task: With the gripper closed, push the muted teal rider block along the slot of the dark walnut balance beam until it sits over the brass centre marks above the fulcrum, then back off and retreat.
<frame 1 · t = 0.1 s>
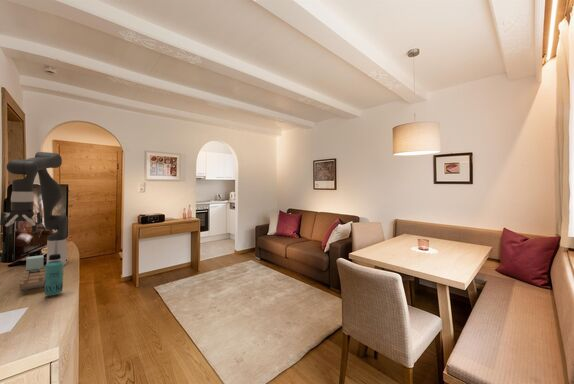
hand: (21, 233, 119), 29 cm above the tv stand, fingers open, 8 cm apart
beam: (34, 286, 126), on the tv stand
beverage bottle: (53, 296, 117), on the tv stand
rider: (35, 263, 131), point 10 cm above the tv stand, slide at -7.5 cm
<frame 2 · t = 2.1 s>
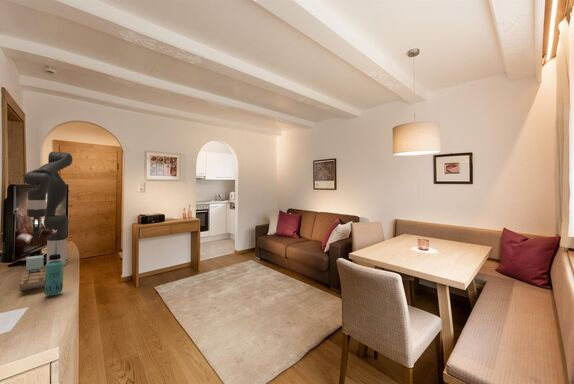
hand: (36, 238, 136), 23 cm above the tv stand, fingers closed
nothing on the tv stand moved.
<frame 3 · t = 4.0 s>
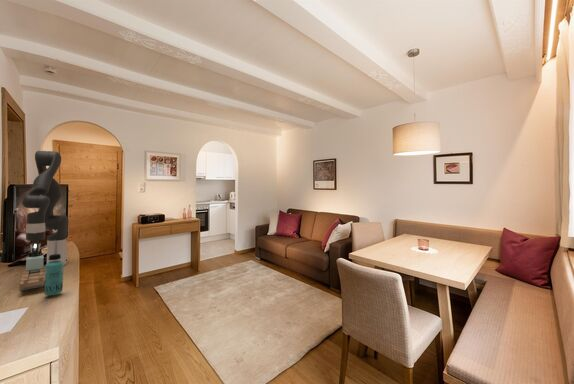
hand: (35, 262, 134), 10 cm above the tv stand, fingers closed
rider: (35, 264, 131), point 10 cm above the tv stand, slide at -6.7 cm, touching gripper
everything else where it was.
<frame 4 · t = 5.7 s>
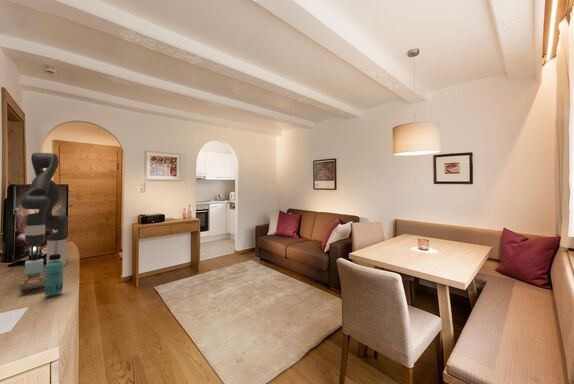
hand: (34, 265, 128), 10 cm above the tv stand, fingers closed
rider: (34, 268, 125), point 10 cm above the tv stand, slide at 1.6 cm, touching gripper
everything else where it was.
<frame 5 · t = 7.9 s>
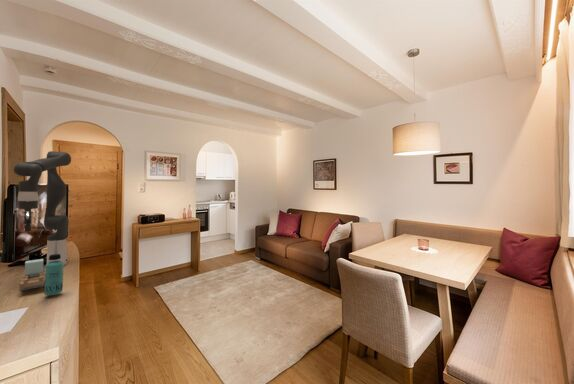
hand: (27, 231, 132), 28 cm above the tv stand, fingers closed
rider: (34, 268, 125), point 10 cm above the tv stand, slide at 1.7 cm
everything else where it was.
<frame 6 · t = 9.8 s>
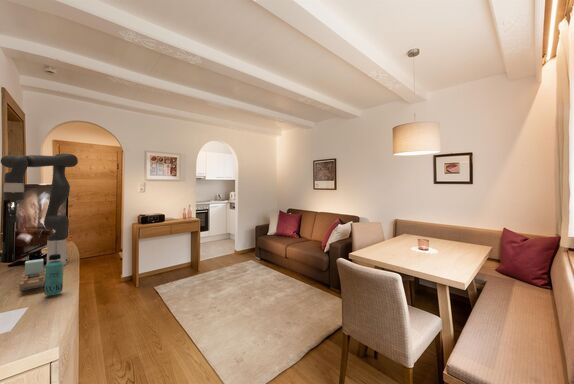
hand: (13, 222, 134), 32 cm above the tv stand, fingers closed
nothing on the tv stand moved.
at the end: rider slide at 1.7 cm; the gripper is holding nothing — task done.
